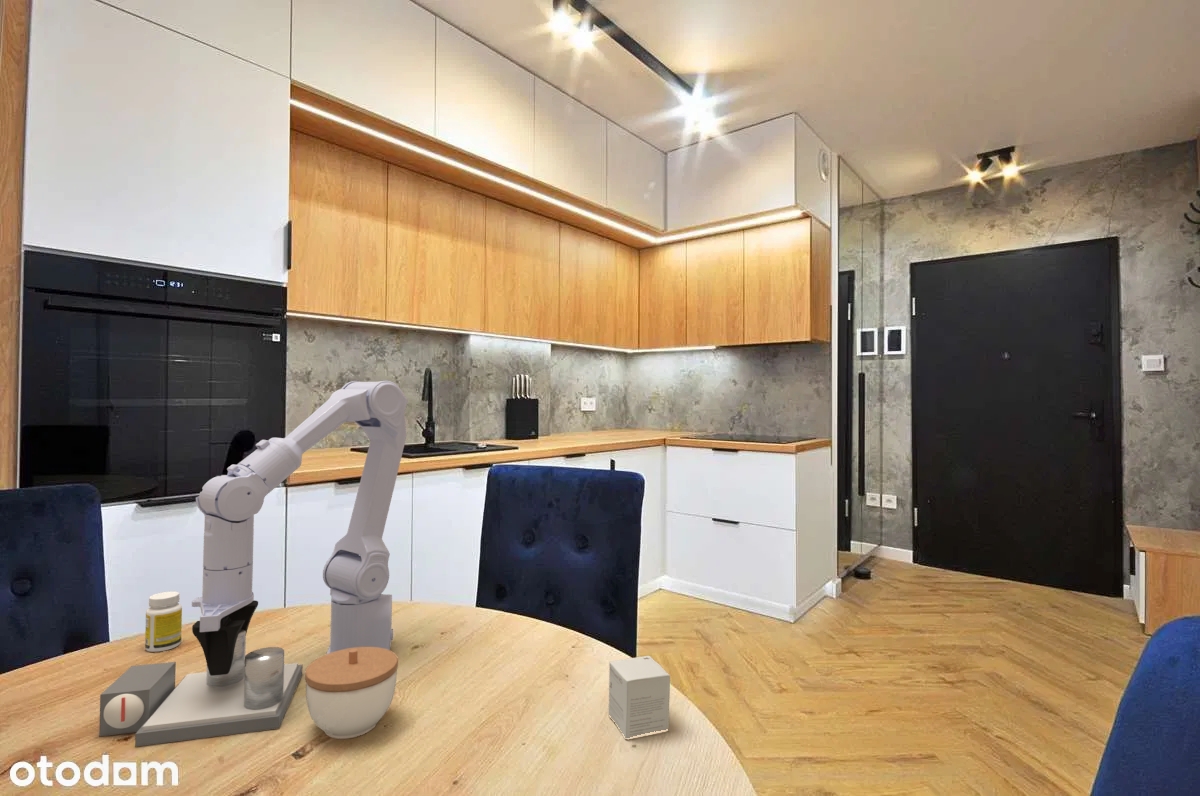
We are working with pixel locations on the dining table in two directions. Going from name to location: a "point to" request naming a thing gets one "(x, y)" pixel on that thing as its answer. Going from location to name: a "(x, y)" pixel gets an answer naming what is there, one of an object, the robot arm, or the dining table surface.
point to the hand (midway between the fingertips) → (225, 665)
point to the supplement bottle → (163, 622)
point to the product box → (639, 695)
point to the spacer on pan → (263, 678)
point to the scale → (184, 706)
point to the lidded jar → (350, 690)
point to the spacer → (236, 667)
